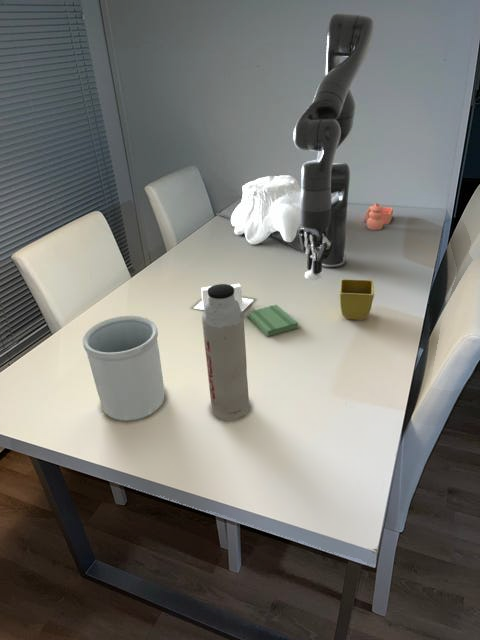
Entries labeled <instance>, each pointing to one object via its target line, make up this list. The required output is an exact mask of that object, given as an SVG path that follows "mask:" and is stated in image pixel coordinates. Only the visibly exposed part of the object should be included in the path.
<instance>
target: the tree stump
mask: <svg viewBox="0 0 480 640" xmlns="http://www.w3.org/2000/svg"><path fill="white" fill-rule="evenodd" d="M300 194H301V185H299V182H298V180H297V179H296V178H295V177H294V176H292V175H288V174H287V175H284V174H283V175H282V174H281V175H279V176H278V175H267V176H264V177H259V178H257V179H254V180H251V181H248V182H247V183H245V184H244V185H242V198H241V202H240V203H239V204H238V205H237V206H236V207H235V209H234V211H233V212H232V213H231V216H230V217H231V219H230V223H231V226H232V227H234V234H235V235H237V236H242V235H244V236H245V239H246V241H247V242H248V243H249V244H251V245H259V244H260V243H262V242H263V241H265V240H266V239H267V238H268V237H269V236H270V234H274V233H275V232H279V234H280V235H281V237H282V239H283V240H284V241H286V242H288V243H291V242H294V240H295V238H296V237H297V234H298V230H299V229H303V228H304V227H303V226H301V224H300Z"/></svg>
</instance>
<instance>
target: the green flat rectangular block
mask: <svg viewBox="0 0 480 640" xmlns="http://www.w3.org/2000/svg"><path fill="white" fill-rule="evenodd" d="M247 314H248V315H247V316H248V318H249V319H250V320H251V321H252V322H253V324H255V325H256V326H257V328H259V329H260V331H262V333H263V334H265V336H266V337H270V336H274V335H277V334H282V333H284V332H287V331H291V330H294V329H298V327H299V326H298V322H297V321H296V320H295V319H294V318H292V317H291V316H290V315H289V314H288V313H287V312H286V311H285V310H284V309H282V308H281V307H280V306H279V305H277V304H274V305H273V304H272V305H269V306H267V307H263V308H259V309H254V310H251V311H248V313H247Z"/></svg>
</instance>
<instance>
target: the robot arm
mask: <svg viewBox="0 0 480 640" xmlns="http://www.w3.org/2000/svg"><path fill="white" fill-rule="evenodd" d="M374 31H375V21H374V19H373V17H371V16H369V15H365V14H354V13H345V12H336V13H335V12H334V13H333V14H332V16H330V19H329V21H328V25H327V30H326V39H325V64H324V65H325V69H324V70H325V71H324V77H322V79H321V81H320V82H319V84H318V87H317V89H316V92H315V94H314V97H313V100H312V102H311V103H310V104H309V105H308V107H307V108H306V109H305V111H303V113H302V114H301V116H300V117H299V119H298V120H297V122H296V124H295V126H294V129H293V133H292V138H293V139H292V140H293V143H294V146H295V147H296V148H297V149H298V150H300V151H304V152H306V151H307V152H317V157H316V159H313V160H308V161H305V162H304V163H303V164H302V166H301V169H300V170H301V171H300V172H301V173H300V179H301V180H300V182H301V183H300V188H301V194H300V224H301V226H303V227H304V228H303V229H299V228H298V230H297V234H298V238H299V242H300V247H299V246H296V245H294V244H293V243H291V242H286V241H285V240H284V239H283V238H280V237H278V236H276V235H275V234H274V233H271V234H270V235H269V236H270V237H272V238H274V239H276V240H278V241H280V242H282V243H283V244H285V245H286V246H289V247H291V248H294V249H295V250H297V251H299V252H301V253H305V256H306V269H307V271H310V270H311V267H312V260H313V273H314V274H318V273H321V272H323V268H338V267H339V268H340V267H341V266H343V265H345V260H346V238H347V237H346V235H347V217H348V216H347V215H348V205H349V203H348V202H349V190H350V183H351V170H350V166H349V165H348V163H346V162H334V161H335V160H334V159H335V156H336V153H337V149H338V148H339V147H340V146H341V145H342V144H343V142H345V140H346V139H347V137H348V136H349V135H350V133H351V131H352V129H353V126H354V120H355V114H356V113H355V112H356V101H355V98H354V95H353V94H352V91H351V89H350V88H351V86H352V84H353V82H354V80H355V79H356V77H357V76H358V73H359V71H360V69H361V68H362V66H363V64H364V62H365V60H366V59H367V56H368V54H369V51H370V49H371V46H372V43H373V39H374V33H375V32H374ZM341 57H342V58H343V57H345V59H344V60H343V61H342V62H341ZM332 194H335V195H334V196H333V197H332ZM215 215H217V216H219V217H223V218H225V219H228V220H231V217H232V216H228V215H226V214H222V213H219V212H215ZM315 247H318V248H315ZM312 252H313V258H311V257H310V256H311V255H312ZM317 255H318V256H317Z"/></svg>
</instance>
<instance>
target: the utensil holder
mask: <svg viewBox="0 0 480 640" xmlns="http://www.w3.org/2000/svg"><path fill="white" fill-rule="evenodd" d="M158 335H159V332H158V327H157V325H156V323H155V321H152V319H149V318H147V317H145V316H140V315H121V316H114V317H111V318H107V319H105V320H102V321H100V322H98V323H96V324H94V325H92V326H91V327H90V328H89V329H88V330H86V332H84V335H83V338H82V345H83V348H84V350H85V353H86V354H87V360H88V363H89V366H90V370H91V374H92V378H93V381H94V385H95V389H96V392H97V395H98V398H99V401H100V404H101V408H102V410H103V412H104V413H105V414H106V415H107V416H108V417H110V418H111V419H114V420H117V421H129V422H130V421H136V420H141V419H143V418H146V417H148V416H151V415H152V414H153V413H156V411H157V410H159V408H160V407H161V406H162V405H163V403H164V400H165V385H164V384H165V383H164V376H163V369H162V362H161V361H162V360H161V355H160V348H159V341H158Z"/></svg>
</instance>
